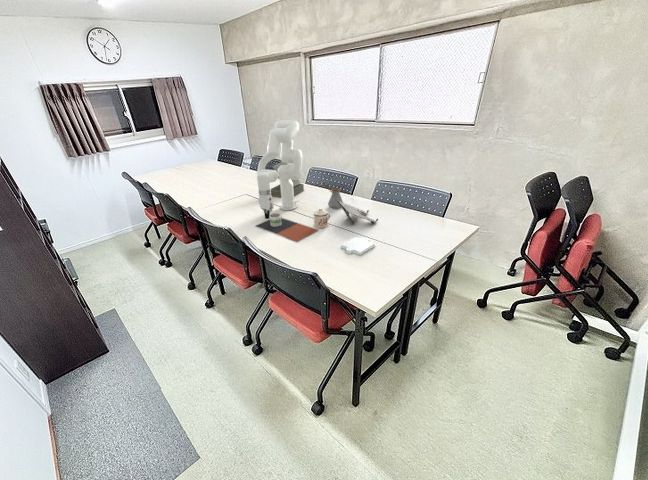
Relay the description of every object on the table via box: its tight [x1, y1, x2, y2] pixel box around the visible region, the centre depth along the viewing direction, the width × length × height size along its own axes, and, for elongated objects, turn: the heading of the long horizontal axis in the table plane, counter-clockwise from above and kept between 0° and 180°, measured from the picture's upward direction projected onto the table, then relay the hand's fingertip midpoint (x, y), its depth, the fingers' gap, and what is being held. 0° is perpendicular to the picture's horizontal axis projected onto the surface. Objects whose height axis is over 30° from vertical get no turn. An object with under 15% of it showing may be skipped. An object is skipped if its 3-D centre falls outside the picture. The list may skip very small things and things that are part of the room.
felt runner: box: [255, 217, 319, 243], centre depth 187 cm, size 20×39×1 cm, turn 46°
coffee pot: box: [323, 182, 344, 210], centre depth 212 cm, size 21×12×15 cm, turn 29°
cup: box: [269, 212, 282, 227], centre depth 191 cm, size 8×8×7 cm
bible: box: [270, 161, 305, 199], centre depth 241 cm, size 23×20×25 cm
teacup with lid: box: [313, 207, 331, 229], centre depth 184 cm, size 12×9×12 cm
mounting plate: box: [340, 236, 376, 256], centre depth 158 cm, size 18×13×2 cm
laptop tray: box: [337, 201, 379, 224], centre depth 188 cm, size 23×23×9 cm
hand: (267, 218), depth 196 cm, fingers closed
